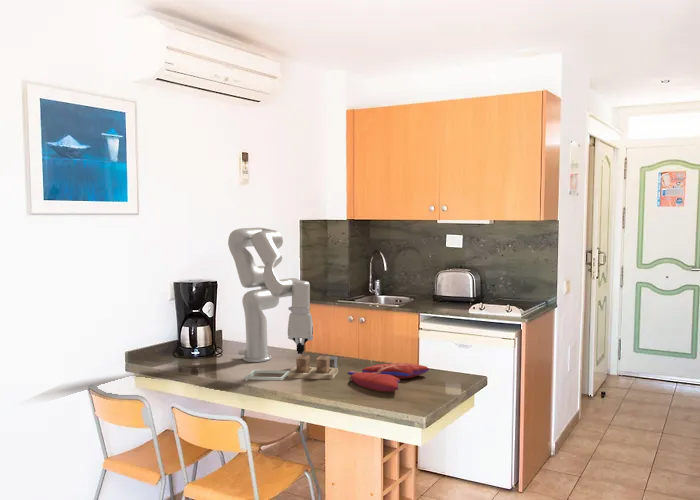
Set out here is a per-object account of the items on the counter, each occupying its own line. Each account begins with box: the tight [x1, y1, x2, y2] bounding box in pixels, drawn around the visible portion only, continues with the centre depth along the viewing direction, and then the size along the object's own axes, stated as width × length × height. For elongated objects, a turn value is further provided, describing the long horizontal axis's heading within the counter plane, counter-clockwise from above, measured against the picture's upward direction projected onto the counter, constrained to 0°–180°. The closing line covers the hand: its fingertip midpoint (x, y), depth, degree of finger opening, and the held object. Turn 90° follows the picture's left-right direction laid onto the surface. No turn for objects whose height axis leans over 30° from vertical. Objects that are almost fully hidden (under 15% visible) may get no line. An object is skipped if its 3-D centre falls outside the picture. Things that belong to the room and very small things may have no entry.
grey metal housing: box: [329, 355, 338, 368], centre depth 253 cm, size 6×5×6 cm
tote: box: [244, 369, 290, 382], centre depth 243 cm, size 15×10×2 cm
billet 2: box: [316, 355, 330, 374], centre depth 242 cm, size 4×6×7 cm, turn 170°
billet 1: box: [295, 354, 311, 373], centre depth 244 cm, size 4×6×7 cm, turn 169°
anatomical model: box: [347, 362, 430, 392], centre depth 237 cm, size 30×7×30 cm
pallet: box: [287, 366, 339, 380], centre depth 244 cm, size 18×11×3 cm, turn 79°
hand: (300, 353), depth 256 cm, fingers closed
